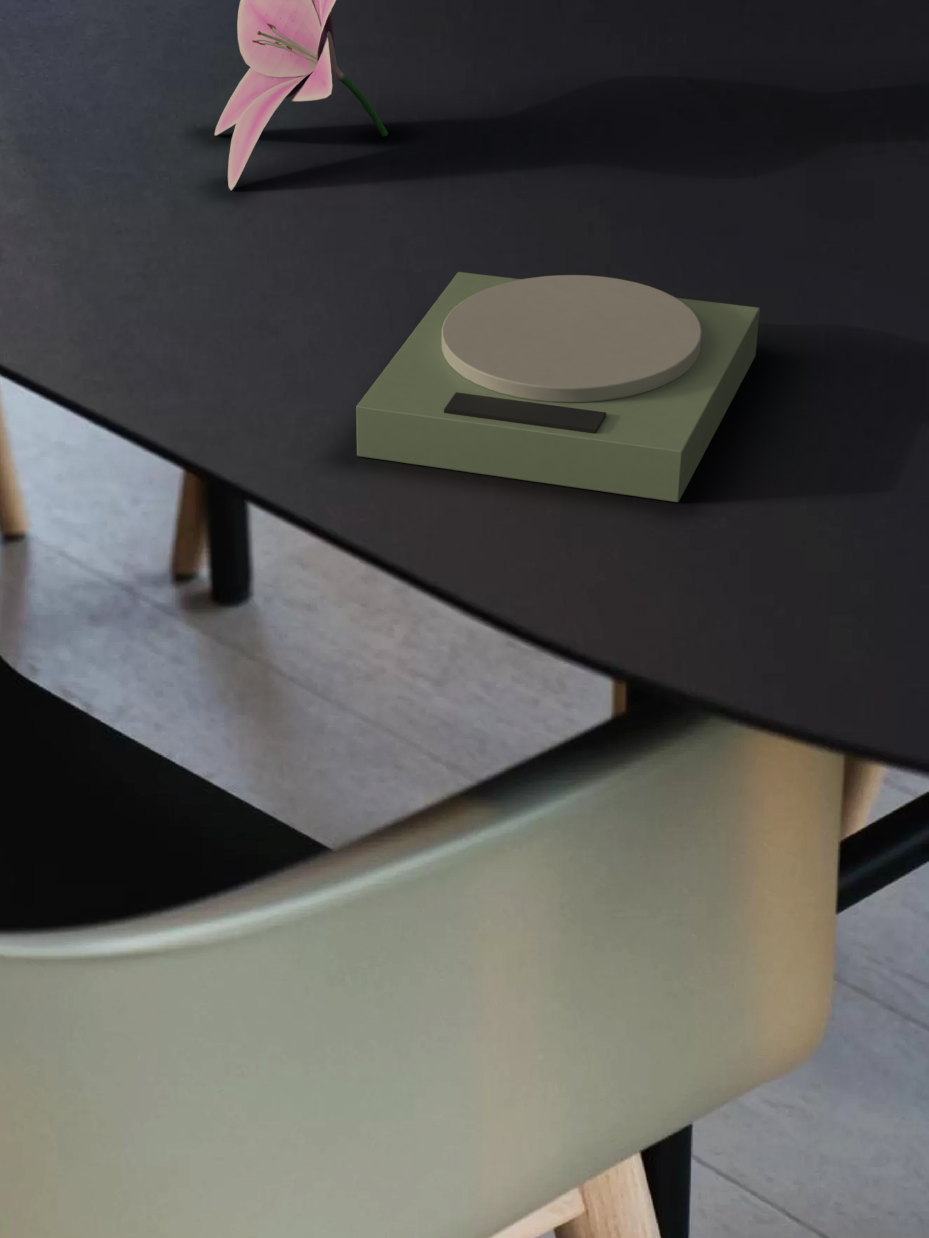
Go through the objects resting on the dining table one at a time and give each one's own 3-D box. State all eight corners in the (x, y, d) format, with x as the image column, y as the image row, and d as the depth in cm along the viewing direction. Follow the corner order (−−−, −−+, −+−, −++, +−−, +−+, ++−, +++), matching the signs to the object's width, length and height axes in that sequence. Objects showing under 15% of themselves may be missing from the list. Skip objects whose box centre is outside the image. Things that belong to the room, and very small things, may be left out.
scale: (755, 356, 97) (761, 291, 95) (678, 503, 89) (683, 435, 87) (457, 318, 101) (458, 256, 99) (356, 456, 92) (355, 390, 91)
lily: (267, 104, 122) (165, -58, 115) (487, 21, 116) (393, -155, 109) (228, 277, 116) (118, 116, 109) (458, 198, 110) (357, 24, 103)
